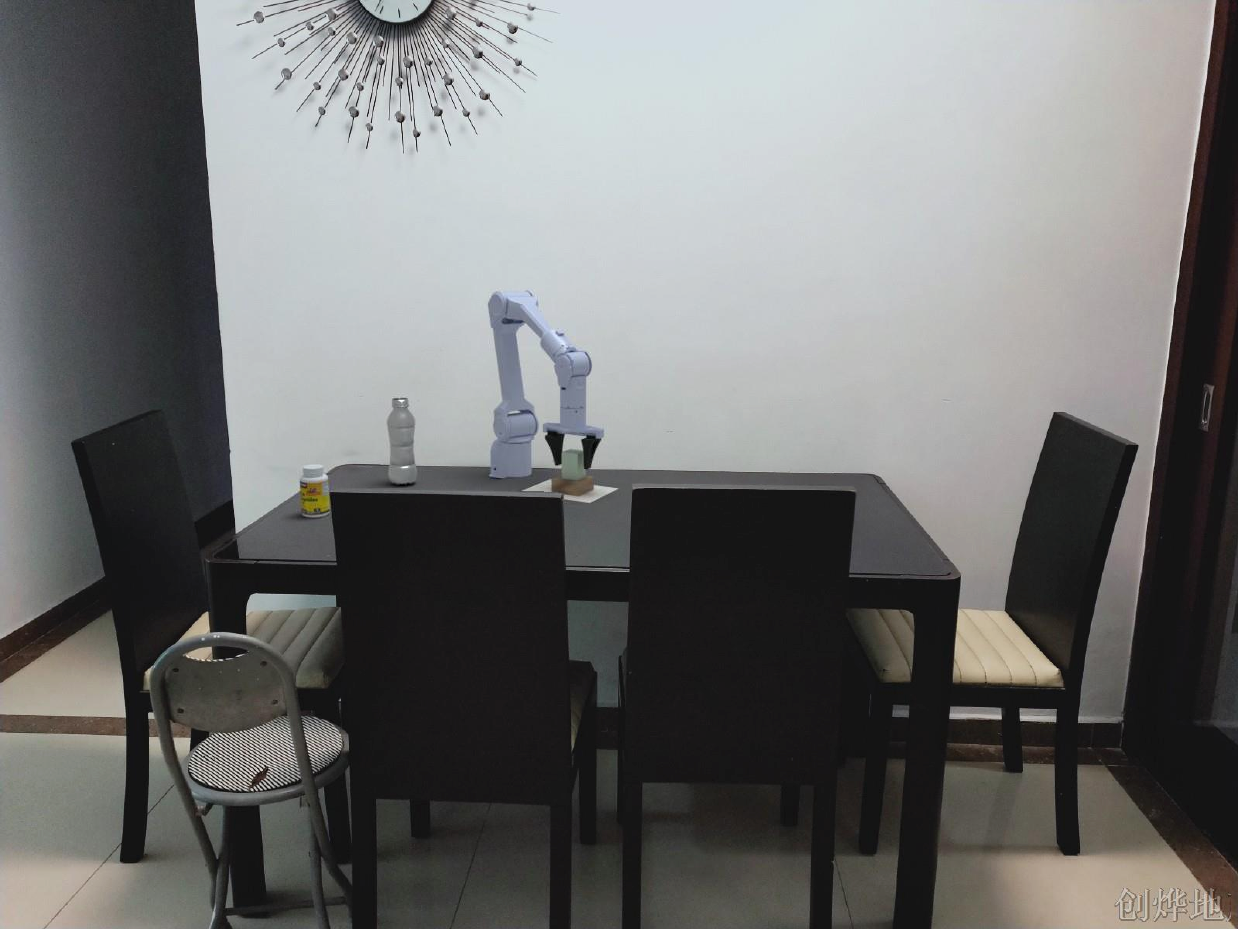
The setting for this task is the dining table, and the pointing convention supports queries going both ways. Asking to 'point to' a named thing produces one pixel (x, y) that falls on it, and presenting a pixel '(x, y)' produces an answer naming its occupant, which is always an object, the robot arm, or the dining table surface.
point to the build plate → (587, 497)
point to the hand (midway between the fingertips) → (572, 466)
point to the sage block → (573, 464)
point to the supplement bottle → (314, 492)
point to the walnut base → (572, 485)
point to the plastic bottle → (401, 443)
